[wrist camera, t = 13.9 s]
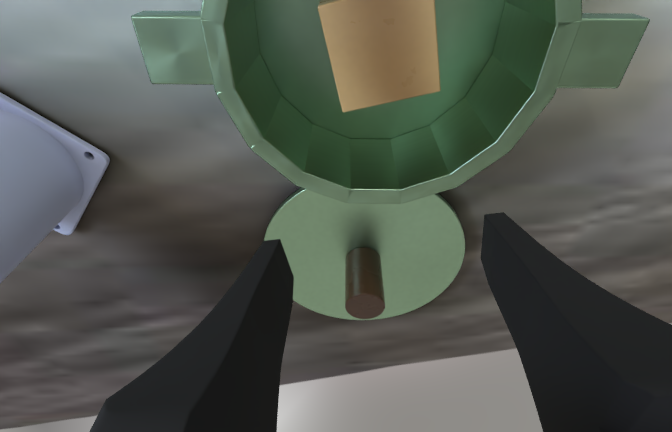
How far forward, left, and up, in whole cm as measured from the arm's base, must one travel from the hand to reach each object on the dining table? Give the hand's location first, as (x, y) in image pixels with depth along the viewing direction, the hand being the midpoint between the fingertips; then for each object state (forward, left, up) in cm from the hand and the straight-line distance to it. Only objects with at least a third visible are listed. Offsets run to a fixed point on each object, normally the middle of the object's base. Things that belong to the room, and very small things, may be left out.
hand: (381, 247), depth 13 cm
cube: (-3, +4, -9) cm, 10 cm away
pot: (-3, +4, -9) cm, 11 cm away
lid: (+6, -7, -9) cm, 12 cm away
